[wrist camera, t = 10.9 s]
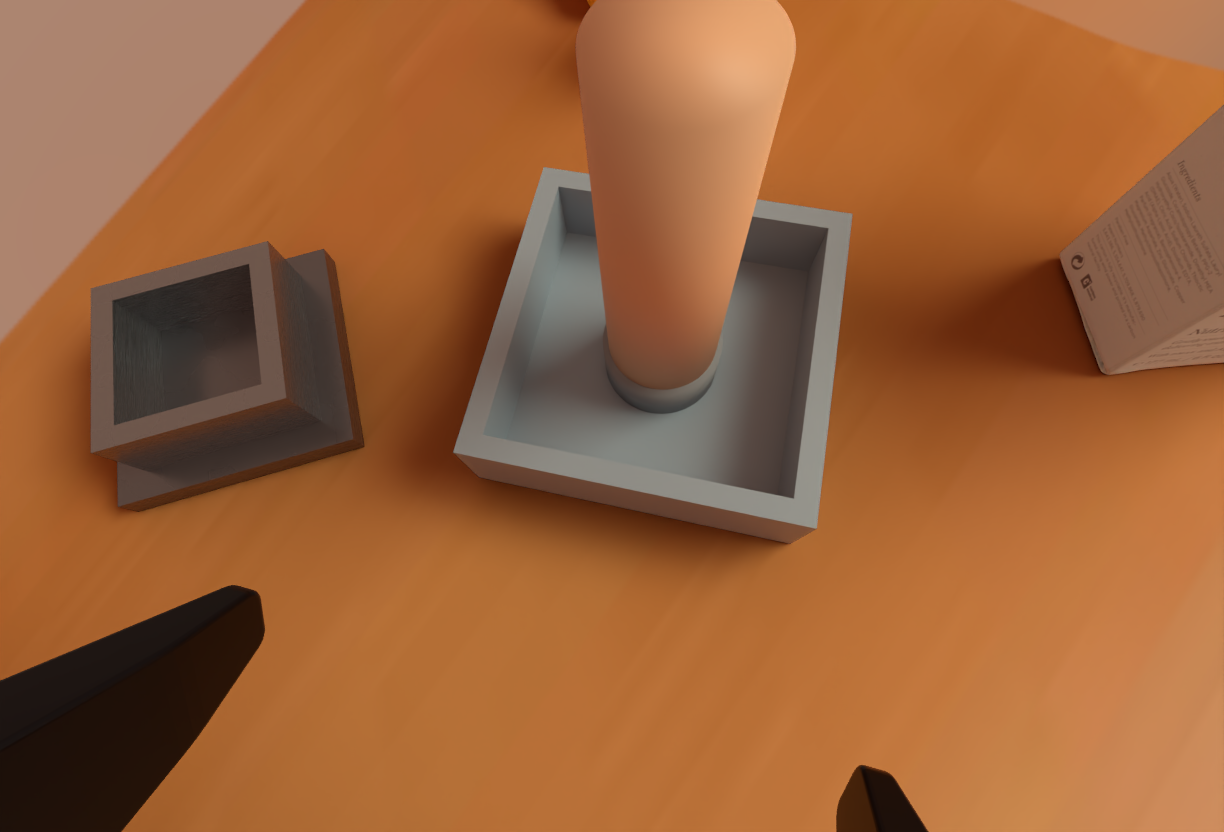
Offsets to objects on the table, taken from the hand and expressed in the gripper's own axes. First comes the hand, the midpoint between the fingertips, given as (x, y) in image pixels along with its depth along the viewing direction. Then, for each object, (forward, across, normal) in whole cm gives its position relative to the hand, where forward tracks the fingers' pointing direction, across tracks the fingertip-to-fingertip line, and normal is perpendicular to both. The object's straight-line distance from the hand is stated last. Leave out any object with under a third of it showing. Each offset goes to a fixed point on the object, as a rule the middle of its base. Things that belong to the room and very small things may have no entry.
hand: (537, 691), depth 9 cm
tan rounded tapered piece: (+17, 0, +1) cm, 17 cm away
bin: (+17, 0, +1) cm, 17 cm away
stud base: (+14, +17, +5) cm, 23 cm away
